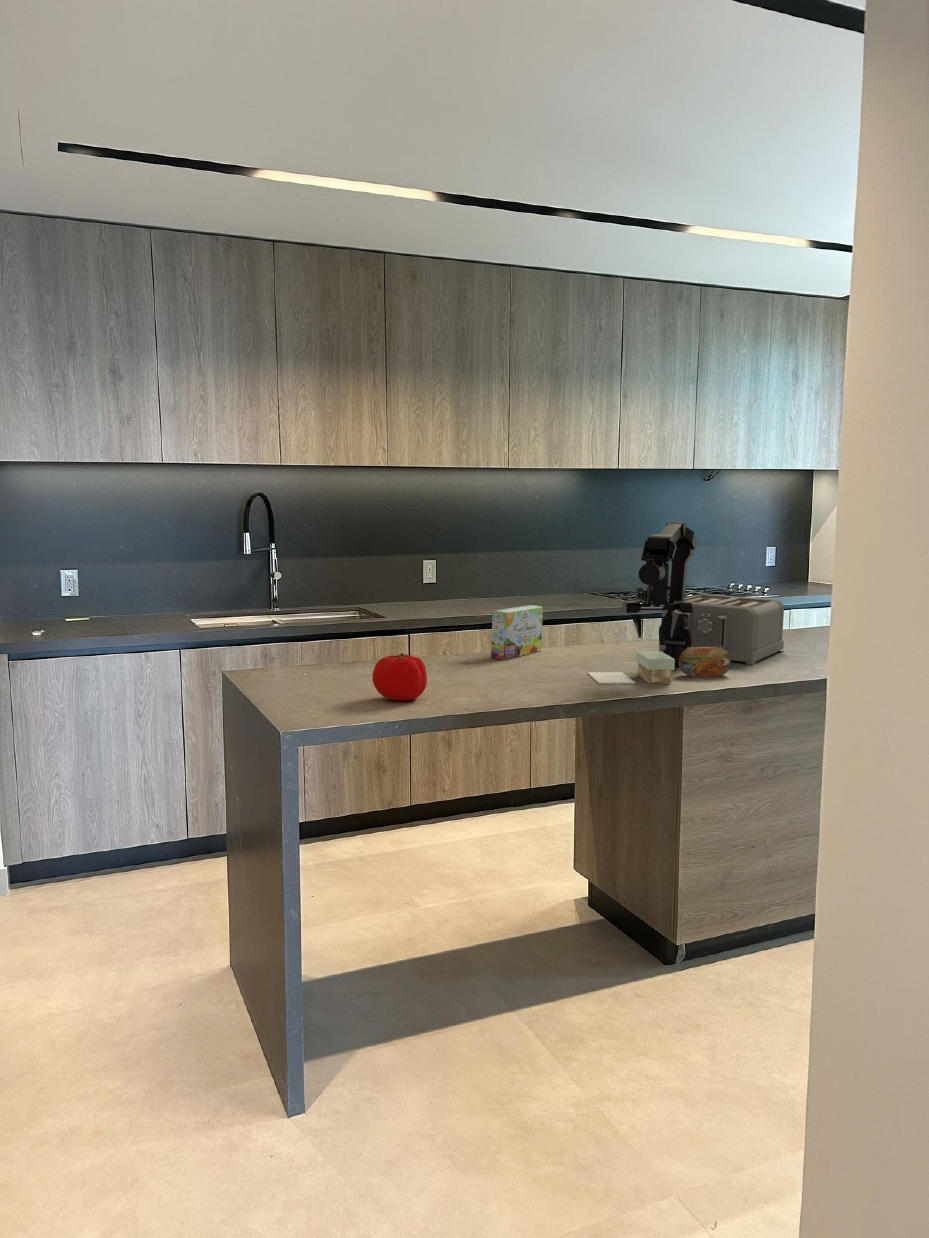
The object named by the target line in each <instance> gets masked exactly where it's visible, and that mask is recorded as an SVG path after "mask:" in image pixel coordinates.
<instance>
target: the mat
mask: <svg viewBox="0 0 929 1238" xmlns="http://www.w3.org/2000/svg"><path fill="white" fill-rule="evenodd" d="M588 674H589V675H588ZM587 675H588V676H590V677H591V678H592V679H593V681H595V682H596V683H597V684H598V685H635V684H636V681H635V680H633V679H632V678H630V677H629V676H628V675H626V674H625V673H624V672H621V671H620V672H619V671H615V672H609V671H608V672H607V671H606V672H598V671H597V672H593V671H592V672H591V671H590V672H587Z"/></svg>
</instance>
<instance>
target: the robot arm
mask: <svg viewBox="0 0 929 1238" xmlns="http://www.w3.org/2000/svg"><path fill="white" fill-rule="evenodd" d="M643 545H644V546H643V550H642V554H641V558H640V560H641V562H643V561H644V562H645V564H642V565H641V567H640V568H639V570H638V578H639V581H641V583H643V584H644V585H646V586H645V590H644V588H641V587H638V588H635V596H634V597H635V600H623V601H622V603H621V611H622V612H624V613H625V614H626V615H628V616H630V617H631V620H632V621H633V624H634V627H635V630H636V631H635V632H636V634H637V637H638V638H639V639H641V638H642V631H643V630H642V621H643V619H642V618H643V617H642V616H643V615H642V613H640V612H641V611H662V610H668V612H667V613H666V614H665V616H663V617H662V616H661V622H660V623H661V624H660V625H659V627H658V643H659V644H658V645H663V649H662V650H661V652H663V653H665V654H667V655H668V656H670V657H672V658H673V659H675V666H674V668H680V667H679V657H680V655H681V653H682V652H683V651H684V650H686V648H687V647H691V632H690V630H689V627H688V621H687V619H686V617H685V616H688V614H687V613H693V604H692V603H690V602H688V601H684V599H685V598H686V597H685V593H686V583H687V582H686V581H687V573H688V572H687V571H688V564H689V562H690V561H691V559H692V558H693V556H694V555H695V554H694V553H695V552H694V551H695V550H696V549H697V538H696V534H695V532H694V531H693V530H692V529H691V528H689V527H688V526H687V525H686V522H683V521H669V522H667V523H666V526H665V527H664V528H663V530H661V532H660V533H657V534H656V533H655V534H651V535H648V537H647V539H646V540H645V541H644V544H643ZM670 563H671V565H670ZM670 567H671V569H670ZM640 601H641V602H640ZM673 641H675V642H673ZM684 641H685V643H684Z"/></svg>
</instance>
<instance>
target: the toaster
mask: <svg viewBox="0 0 929 1238" xmlns="http://www.w3.org/2000/svg"><path fill="white" fill-rule="evenodd" d="M684 601H688V602H690V603H692V604H693V613H687V614H688V616H685V617H686V619H687V621H688V627H689V630H690V632H691V647H687V648H686V649H688V648H695V647H721V648H724V649H725V650H727V651H728V652H729V654H730V656H731V661H736V662H743V663H744V662H745V665H748V664H754V665H756V662H758V661H760V660H761V659H764V658H767V657H768V656H772V655H773V654H775V653H778V651H780V650H782V649H783V650H784V648H785V647H784V645H785V641H784V639H783V632H784V631H783V630H784V616H785V615H784V614H785V606H784V604H783V603H782V602H781V601H780V600H778V599H770V598H759V597H747V596H746V597H745V596H734V595H733V596H732V595H721V594H708V593H704V594H698V595H694V596H689V597H684ZM661 611H662V613H661V618H662V617H663V616H665V614H666V613H667V612H668V610H661ZM673 642H675V641H673ZM684 643H685V641H684ZM658 645H659V644H658ZM662 649H663V645H659V647H658V651H661V650H662Z"/></svg>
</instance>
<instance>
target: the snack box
mask: <svg viewBox="0 0 929 1238" xmlns="http://www.w3.org/2000/svg"><path fill="white" fill-rule="evenodd" d="M543 615H544V606H539V605H532V604H531V605H522V606H514V607H509V608H502V609H497V610H496V609H495V610H492V619H491V620H492V624H491V625H492V626H491V645H490V647H491V648H490V658H491V659H494V658H495V659H494V660H499V661H505V660H510V658H511V659H514V658H513V657H515V658H519V656H520V657H523V656H522V655H525V656H527V655H526V654H529V655H531V654H530V653H533V652H538V651H541V652H542V639H543V621H544V619H543V617H544V616H543ZM537 649H541V650H537ZM538 653H539V652H538Z"/></svg>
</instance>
